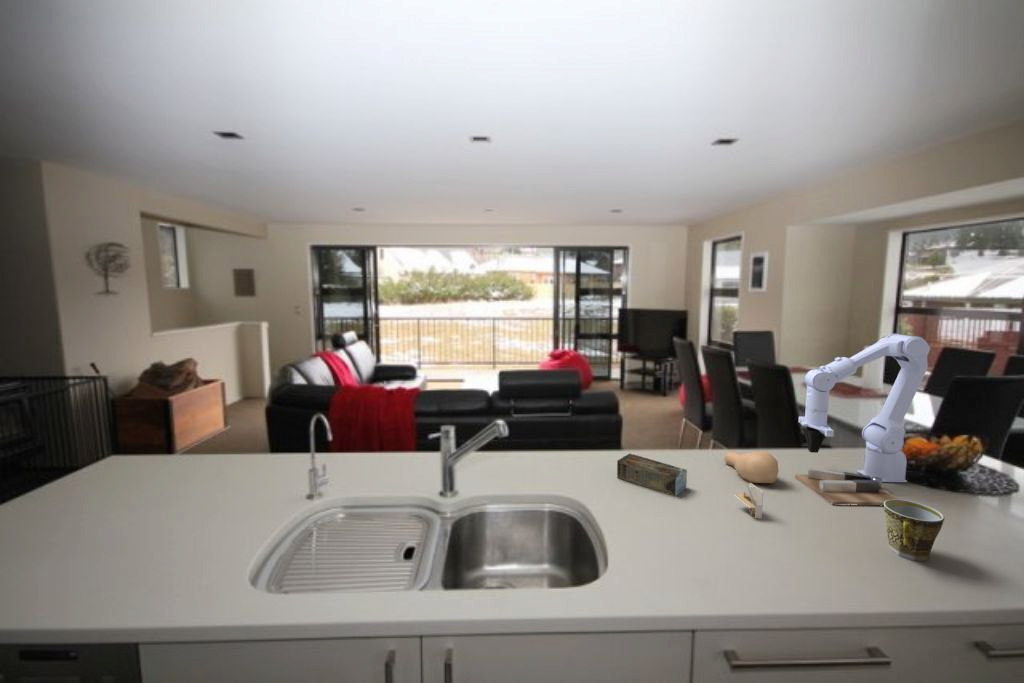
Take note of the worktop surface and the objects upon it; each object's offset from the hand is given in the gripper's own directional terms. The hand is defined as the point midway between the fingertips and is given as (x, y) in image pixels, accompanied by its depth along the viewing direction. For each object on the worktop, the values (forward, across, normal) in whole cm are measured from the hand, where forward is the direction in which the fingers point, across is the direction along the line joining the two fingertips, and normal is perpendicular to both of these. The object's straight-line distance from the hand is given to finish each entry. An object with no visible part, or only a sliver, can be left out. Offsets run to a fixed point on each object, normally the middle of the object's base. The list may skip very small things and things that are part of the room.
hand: (813, 451), depth 142 cm
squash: (+8, +1, -20) cm, 21 cm away
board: (+7, +12, +3) cm, 14 cm away
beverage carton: (+8, +8, -51) cm, 53 cm away
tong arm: (+6, +8, +4) cm, 11 cm away
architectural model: (+8, +25, -30) cm, 40 cm away
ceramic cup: (+8, +44, -5) cm, 44 cm away
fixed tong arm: (+6, +14, +2) cm, 15 cm away
